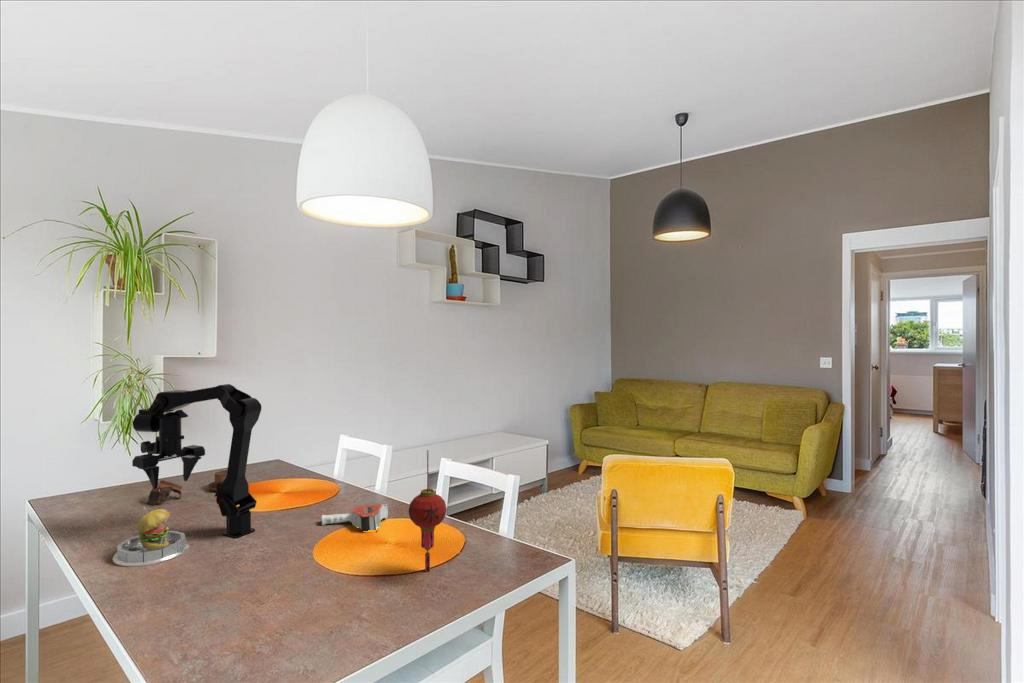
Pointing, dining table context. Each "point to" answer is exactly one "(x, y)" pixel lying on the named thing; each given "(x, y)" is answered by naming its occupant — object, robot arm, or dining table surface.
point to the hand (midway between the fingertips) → (170, 484)
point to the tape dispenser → (360, 517)
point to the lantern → (427, 516)
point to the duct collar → (149, 551)
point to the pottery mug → (163, 492)
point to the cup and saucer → (217, 479)
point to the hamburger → (153, 529)
